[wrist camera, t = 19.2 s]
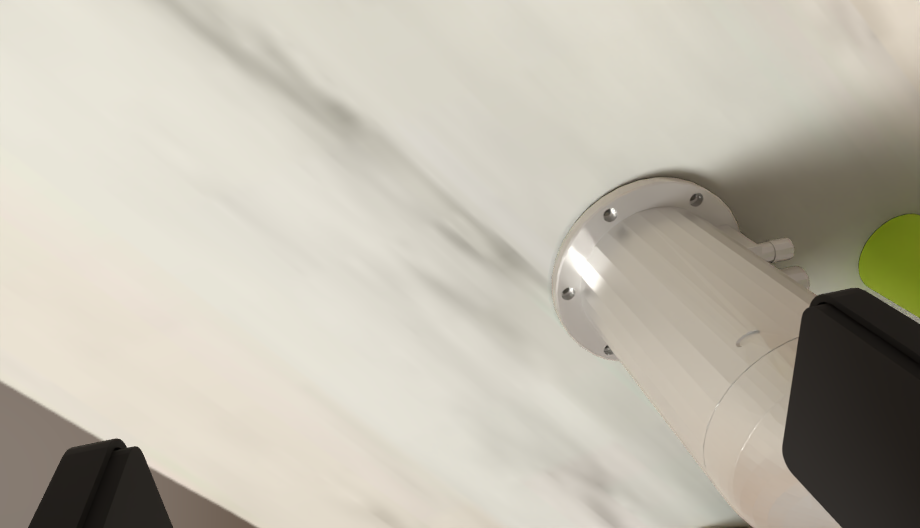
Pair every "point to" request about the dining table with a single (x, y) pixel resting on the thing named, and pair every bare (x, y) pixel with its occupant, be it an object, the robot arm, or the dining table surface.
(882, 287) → the soap dispenser
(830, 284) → the dining table surface
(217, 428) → the dining table surface
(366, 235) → the dining table surface
